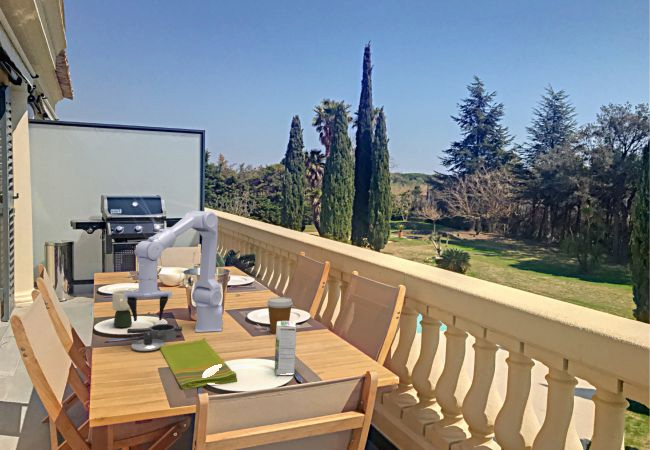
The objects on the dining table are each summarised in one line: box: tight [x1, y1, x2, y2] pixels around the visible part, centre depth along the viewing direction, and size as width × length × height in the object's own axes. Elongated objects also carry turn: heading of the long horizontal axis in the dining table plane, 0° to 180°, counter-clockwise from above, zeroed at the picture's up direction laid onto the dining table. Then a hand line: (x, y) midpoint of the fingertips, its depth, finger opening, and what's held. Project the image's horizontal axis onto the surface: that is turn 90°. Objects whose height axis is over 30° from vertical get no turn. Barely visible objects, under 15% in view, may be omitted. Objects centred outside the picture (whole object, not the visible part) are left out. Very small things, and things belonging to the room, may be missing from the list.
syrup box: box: [274, 320, 297, 377], centre depth 149 cm, size 6×6×14 cm
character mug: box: [112, 289, 133, 329], centre depth 190 cm, size 11×7×13 cm, turn 13°
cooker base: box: [126, 323, 183, 342], centre depth 178 cm, size 18×9×4 cm, turn 104°
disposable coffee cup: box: [266, 296, 293, 335], centre depth 189 cm, size 10×10×12 cm
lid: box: [131, 331, 165, 352], centre depth 167 cm, size 10×10×5 cm
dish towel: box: [159, 337, 238, 390], centre depth 153 cm, size 15×36×3 cm, turn 27°
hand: (148, 320), depth 166 cm, fingers open, 7 cm apart
